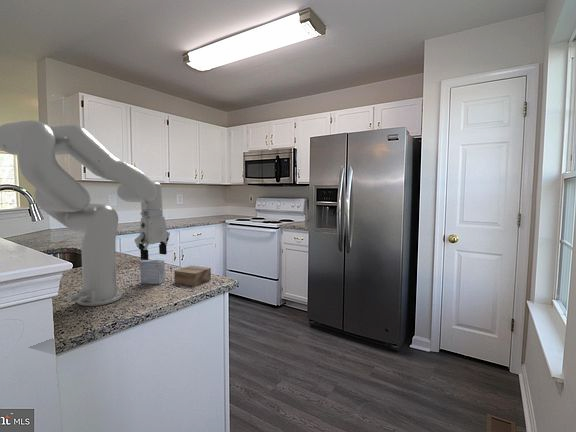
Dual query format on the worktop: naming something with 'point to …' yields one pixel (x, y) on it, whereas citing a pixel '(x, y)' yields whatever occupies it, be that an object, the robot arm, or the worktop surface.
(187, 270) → the walnut block
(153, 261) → the medicine box
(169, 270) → the worktop surface
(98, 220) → the robot arm
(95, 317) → the worktop surface
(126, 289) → the worktop surface
